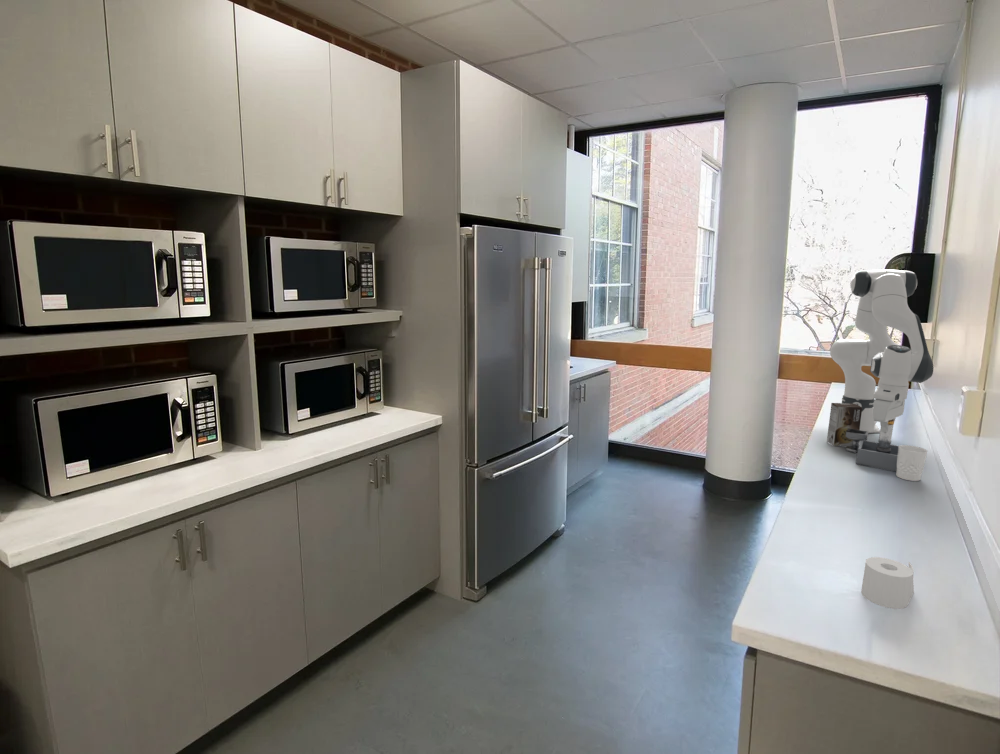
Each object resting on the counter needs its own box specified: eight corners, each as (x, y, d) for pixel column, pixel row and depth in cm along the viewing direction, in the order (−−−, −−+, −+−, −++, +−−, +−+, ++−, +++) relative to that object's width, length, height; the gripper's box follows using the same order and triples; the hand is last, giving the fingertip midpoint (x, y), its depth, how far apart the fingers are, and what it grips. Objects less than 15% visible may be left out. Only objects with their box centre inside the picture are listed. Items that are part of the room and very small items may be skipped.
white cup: (895, 479, 192) (900, 449, 190) (892, 472, 199) (896, 443, 197) (924, 483, 188) (929, 453, 187) (920, 476, 195) (925, 447, 194)
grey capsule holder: (845, 447, 226) (847, 428, 225) (865, 450, 223) (868, 431, 221) (843, 451, 221) (846, 432, 220) (864, 455, 217) (867, 435, 216)
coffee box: (849, 442, 233) (855, 403, 230) (857, 447, 227) (863, 407, 224) (825, 441, 234) (830, 402, 231) (833, 446, 228) (838, 405, 225)
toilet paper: (913, 592, 123) (919, 561, 122) (904, 614, 115) (909, 581, 114) (869, 577, 128) (873, 548, 127) (856, 597, 120) (861, 566, 119)
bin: (859, 454, 218) (861, 439, 217) (906, 462, 210) (908, 447, 209) (855, 464, 206) (858, 449, 205) (905, 473, 198) (908, 457, 197)
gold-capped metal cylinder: (874, 452, 207) (879, 420, 205) (878, 450, 210) (883, 418, 208) (887, 455, 204) (892, 422, 202) (891, 453, 207) (896, 420, 205)
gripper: (891, 387, 212) (886, 424, 215) (871, 394, 199) (865, 433, 202) (912, 390, 207) (906, 428, 210) (892, 397, 194) (886, 437, 197)
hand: (886, 430), depth 206 cm, fingers closed on gold-capped metal cylinder, 4 cm apart
